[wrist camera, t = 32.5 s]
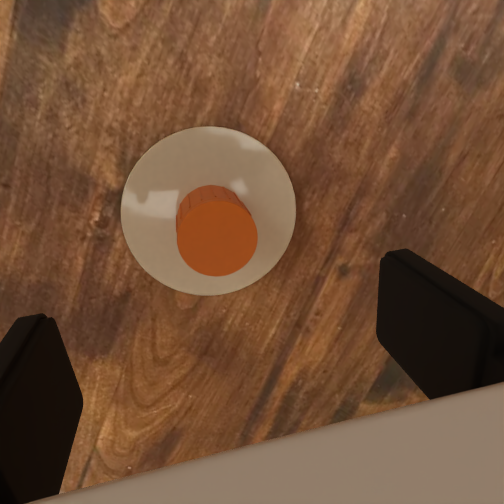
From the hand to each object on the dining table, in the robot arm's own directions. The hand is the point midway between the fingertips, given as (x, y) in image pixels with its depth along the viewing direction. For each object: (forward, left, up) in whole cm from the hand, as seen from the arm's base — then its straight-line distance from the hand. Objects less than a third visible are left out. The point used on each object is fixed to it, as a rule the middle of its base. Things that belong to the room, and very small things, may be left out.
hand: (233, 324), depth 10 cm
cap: (0, 0, -11) cm, 11 cm away
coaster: (0, 0, -12) cm, 12 cm away
